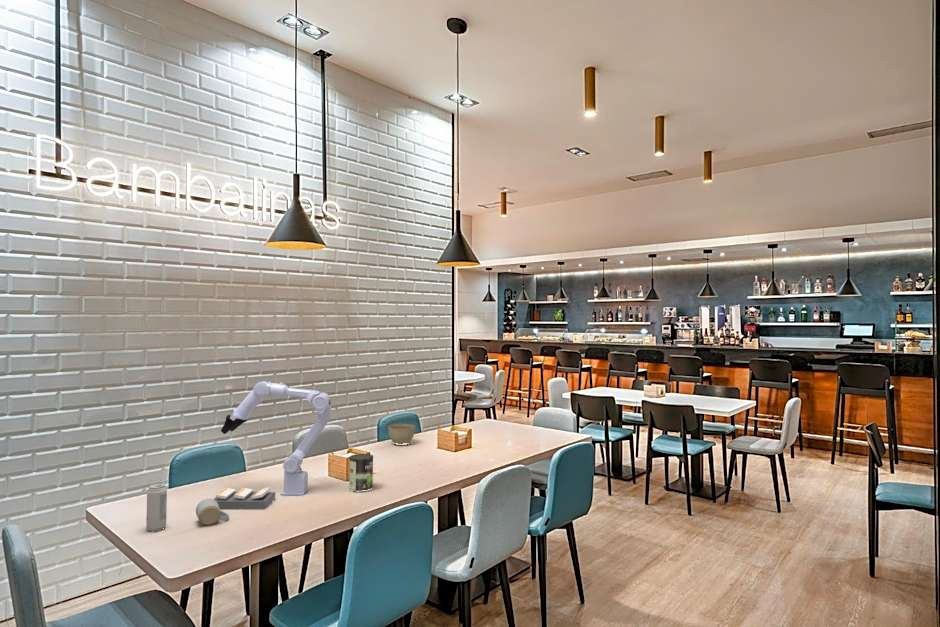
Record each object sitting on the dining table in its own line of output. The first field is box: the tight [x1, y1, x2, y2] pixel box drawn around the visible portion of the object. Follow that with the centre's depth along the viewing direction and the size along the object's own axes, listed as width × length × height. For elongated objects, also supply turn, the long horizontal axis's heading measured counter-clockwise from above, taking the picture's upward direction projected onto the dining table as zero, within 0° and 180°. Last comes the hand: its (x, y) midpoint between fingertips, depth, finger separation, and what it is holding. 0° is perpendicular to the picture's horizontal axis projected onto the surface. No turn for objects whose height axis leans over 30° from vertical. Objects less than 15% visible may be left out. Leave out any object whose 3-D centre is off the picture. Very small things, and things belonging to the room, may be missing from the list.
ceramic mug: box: [195, 498, 230, 526], centre depth 197 cm, size 11×8×8 cm
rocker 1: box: [215, 487, 237, 499], centre depth 216 cm, size 4×9×1 cm, turn 1°
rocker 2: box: [252, 487, 271, 499], centre depth 217 cm, size 4×9×1 cm, turn 2°
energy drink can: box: [145, 483, 168, 532], centre depth 190 cm, size 6×6×15 cm
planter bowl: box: [387, 423, 416, 444], centre depth 325 cm, size 16×16×11 cm
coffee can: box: [348, 453, 374, 491], centre depth 238 cm, size 10×10×14 cm
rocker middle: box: [234, 487, 254, 499], centre depth 217 cm, size 4×9×1 cm, turn 1°
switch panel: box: [213, 491, 276, 510], centre depth 216 cm, size 21×12×3 cm, turn 91°
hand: (226, 431), depth 229 cm, fingers open, 7 cm apart
